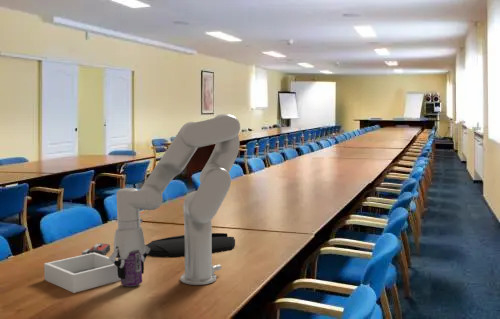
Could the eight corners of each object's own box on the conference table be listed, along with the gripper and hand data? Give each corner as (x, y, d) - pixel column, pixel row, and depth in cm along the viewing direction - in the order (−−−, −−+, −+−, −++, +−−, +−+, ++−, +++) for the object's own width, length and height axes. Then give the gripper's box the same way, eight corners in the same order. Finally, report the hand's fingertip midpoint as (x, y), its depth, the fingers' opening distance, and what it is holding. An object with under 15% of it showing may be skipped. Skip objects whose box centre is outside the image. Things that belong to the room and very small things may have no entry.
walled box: (94, 267, 205) (94, 252, 204) (125, 278, 191) (124, 262, 191) (44, 279, 190) (44, 263, 190) (73, 292, 177) (73, 275, 176)
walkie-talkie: (91, 250, 233) (75, 263, 213) (91, 240, 232) (74, 252, 213) (111, 250, 233) (96, 263, 213) (111, 240, 232) (96, 252, 212)
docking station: (135, 247, 237) (135, 236, 236) (220, 238, 254) (220, 227, 254) (150, 262, 215) (150, 249, 214) (242, 250, 232) (242, 239, 232)
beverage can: (140, 280, 189) (139, 246, 188) (143, 286, 182) (142, 251, 181) (120, 282, 187) (118, 248, 186) (122, 288, 180) (120, 253, 179)
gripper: (143, 219, 192) (145, 267, 193) (100, 227, 179) (103, 279, 181) (156, 221, 186) (158, 271, 188) (113, 230, 174) (115, 284, 175)
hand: (131, 275), depth 184 cm, fingers closed on beverage can, 7 cm apart
